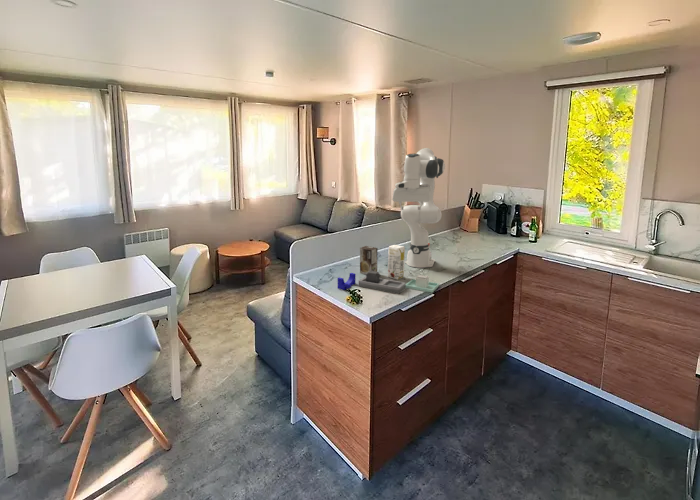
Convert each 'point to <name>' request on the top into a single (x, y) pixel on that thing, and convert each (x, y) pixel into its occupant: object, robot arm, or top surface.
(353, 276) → the cable clip
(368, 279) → the grey compartment holder
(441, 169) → the robot arm
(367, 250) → the coffee box
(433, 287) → the tray
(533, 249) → the top surface
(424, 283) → the plug
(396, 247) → the juice carton
